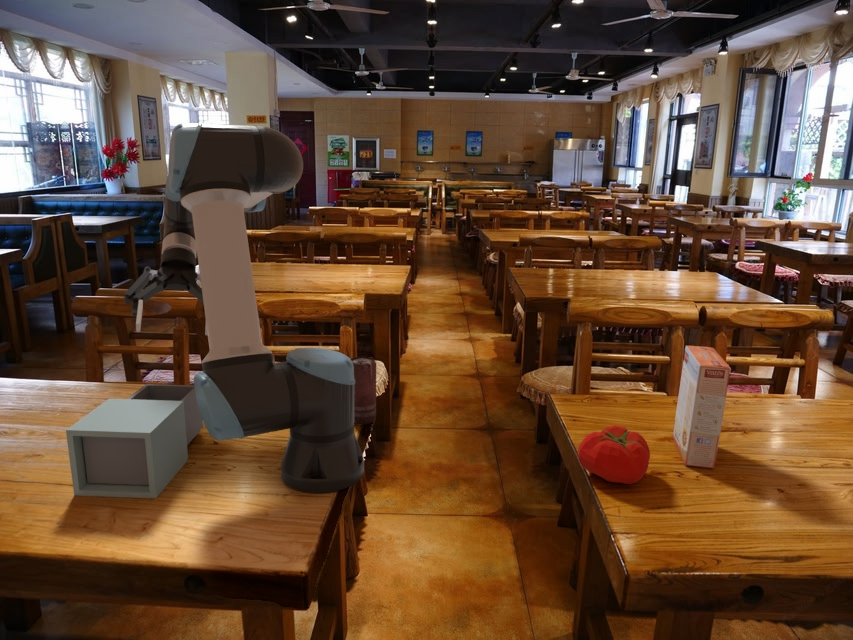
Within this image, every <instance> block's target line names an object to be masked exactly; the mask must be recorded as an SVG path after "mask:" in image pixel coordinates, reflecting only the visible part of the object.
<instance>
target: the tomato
mask: <svg viewBox="0 0 853 640" xmlns="http://www.w3.org/2000/svg"><path fill="white" fill-rule="evenodd" d="M577 456H578V460H579V462H580V465H581V466H582V467H583V468H584V469H586V471H588V472H590V473H592V474H594V475H595V476H597V477H599V478H602V479H603V480H605V481H607V482H608V483H617V484H618V483H620V484H625V485H626V484H627V485H631V484H635V483H637V482H639V481H640V480H641V479H643V477H644V476H645V474H646V472H647V470H648V468H649V462H650V458H651V457H650V456H651V451H650V448H649V444H648V442H647V441H646V440H645V438H644V436H642V435H641V434H640V433H639V432H637V431H634V430H633V431H632V430H628V429H627V428H626V427H625V426H620V425H611V426H607V427H605V428H603V429H601V431H593V432H590V433H588V434H586V436H584V438H583V440H582V441H581V442H580V443H579V446H578V449H577Z"/></svg>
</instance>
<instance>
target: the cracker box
mask: <svg viewBox="0 0 853 640" xmlns="http://www.w3.org/2000/svg"><path fill="white" fill-rule="evenodd" d="M684 347H685V348H684V355H683V361H682V368H681V369H682V370H681V377H680V382H679V384H680V385H679V388H678V389H679V390H678V398H677V404H676V412H675V418H674V424H673V431H672V439H673V441H674V443H675V447H676V448H677V450H678V452H679V454H680V457H681V459H682V461H683V464H684V466H690V467H697V468H698V467H699V468H704V469H705V468H706V469H715V467H716V461H717V456H718V449H719V445H720V444H719V443H720V437H721V432H722V426H723V425H722V424H723V421H724V420H723V418H724V413H725V407H726V400H727V395H728V388H729V384H730V379H731V371H732V368H731V367H730V365H729V364H728V363H727V362H726V361H725V359H723V358H722V356H721V355H720V354H719V353H718V352H717V350H716V348H714V347H711V346H710V347H709V346H699V345H697V346H696V345H685V346H684Z"/></svg>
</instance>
